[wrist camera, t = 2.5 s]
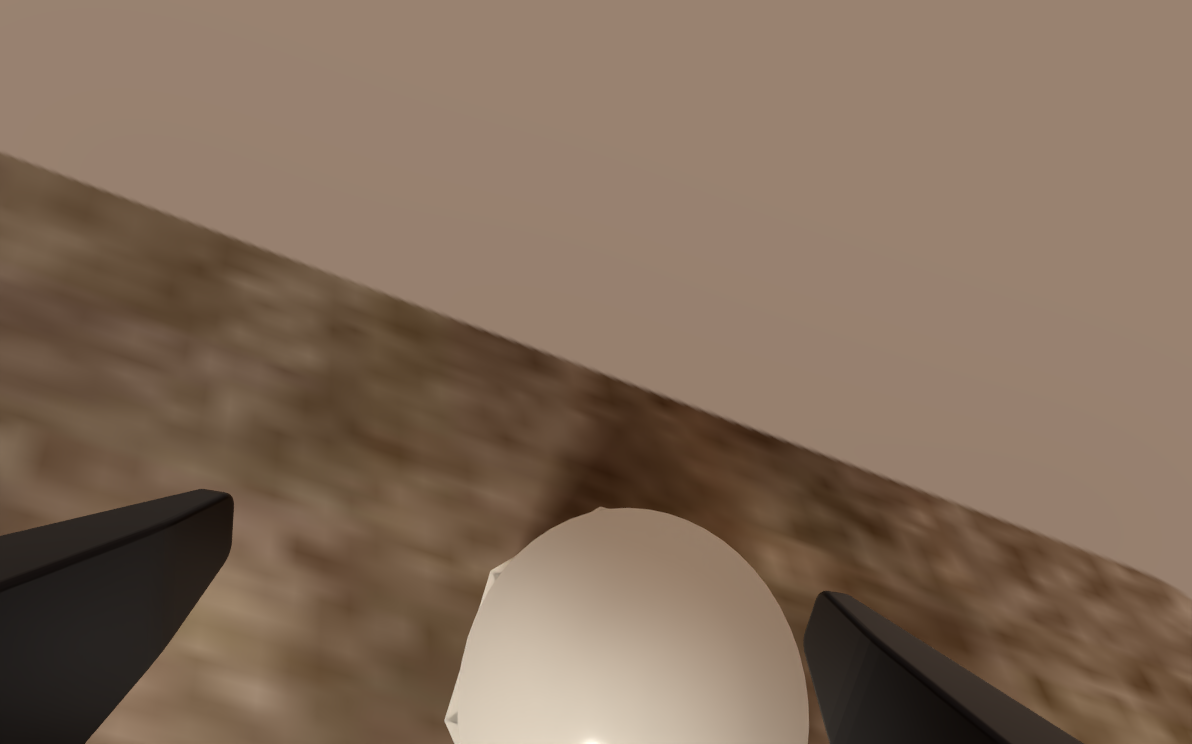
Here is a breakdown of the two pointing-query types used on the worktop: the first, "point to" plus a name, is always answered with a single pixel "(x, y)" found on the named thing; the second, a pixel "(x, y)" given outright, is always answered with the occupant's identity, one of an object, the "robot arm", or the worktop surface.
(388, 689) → the worktop surface
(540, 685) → the tumbler
